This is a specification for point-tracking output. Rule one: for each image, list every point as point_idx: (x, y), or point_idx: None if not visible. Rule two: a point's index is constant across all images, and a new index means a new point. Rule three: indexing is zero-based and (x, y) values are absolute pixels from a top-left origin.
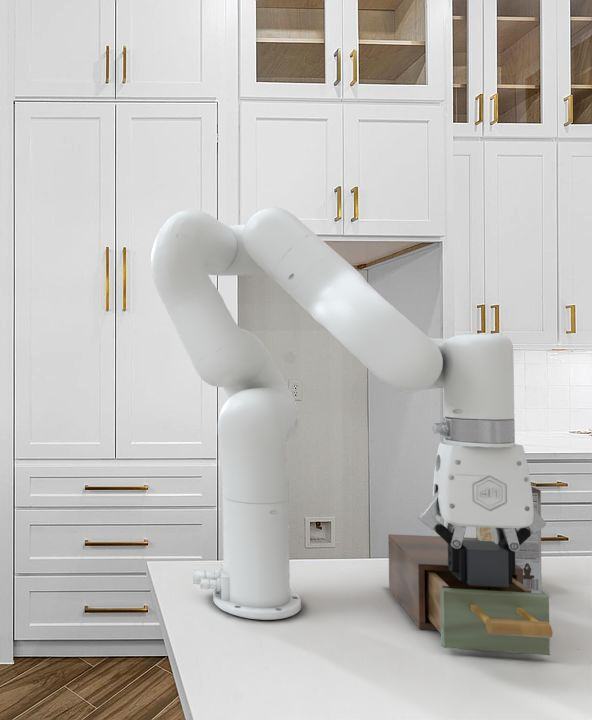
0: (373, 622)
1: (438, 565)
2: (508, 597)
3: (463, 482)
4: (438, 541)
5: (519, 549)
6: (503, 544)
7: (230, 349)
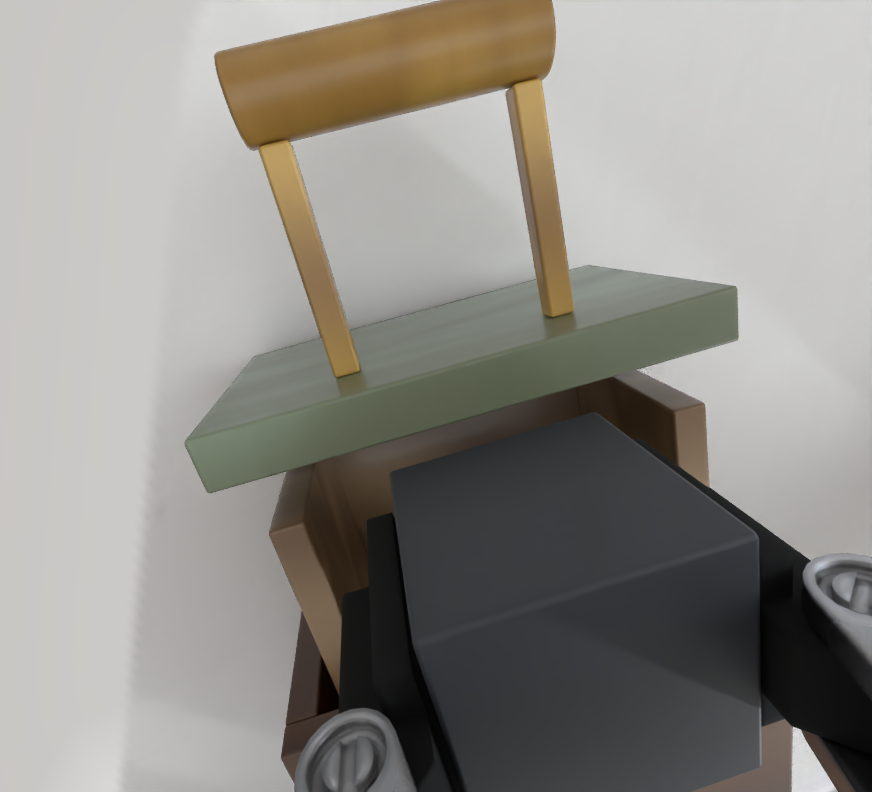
0: (739, 433)
1: None
2: (401, 377)
3: None
4: None
5: None
6: (436, 777)
7: None
